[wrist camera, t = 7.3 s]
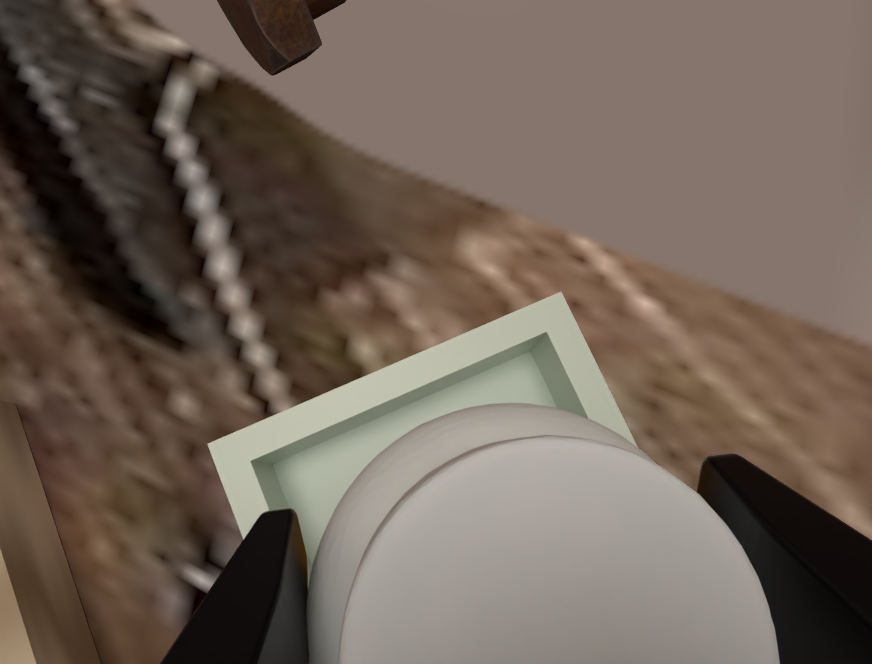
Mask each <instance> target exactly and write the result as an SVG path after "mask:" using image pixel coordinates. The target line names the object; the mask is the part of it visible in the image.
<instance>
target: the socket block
mask: <svg viewBox="0 0 872 664" xmlns="http://www.w3.org/2000/svg"><path fill="white" fill-rule="evenodd" d="M0 664H101V662H100V659H99V656H98V653H97V650H96V647H95V644H94V641H93V638H92V635H91V632H90V629H89V626H88V623H87V620H86V617H85V614H84V611H83V608H82V605H81V602H80V599H79V595H78V592H77V589H76V586H75V583H74V580H73V577H72V574H71V571H70V568H69V565H68V562H67V559H66V556H65V553H64V550H63V547H62V544H61V541H60V538H59V535H58V532H57V529H56V526H55V523H54V520H53V516H52V513H51V510H50V507H49V504H48V501H47V498H46V495H45V492H44V489H43V486H42V483H41V480H40V477H39V474H38V471H37V468H36V465H35V462H34V459H33V456H32V453H31V450H30V447H29V444H28V441H27V437H26V434H25V431H24V428H23V425H22V422H21V419H20V416H19V413H18V410H17V407H16V404H11V403H7V402H2V401H0Z"/></svg>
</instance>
